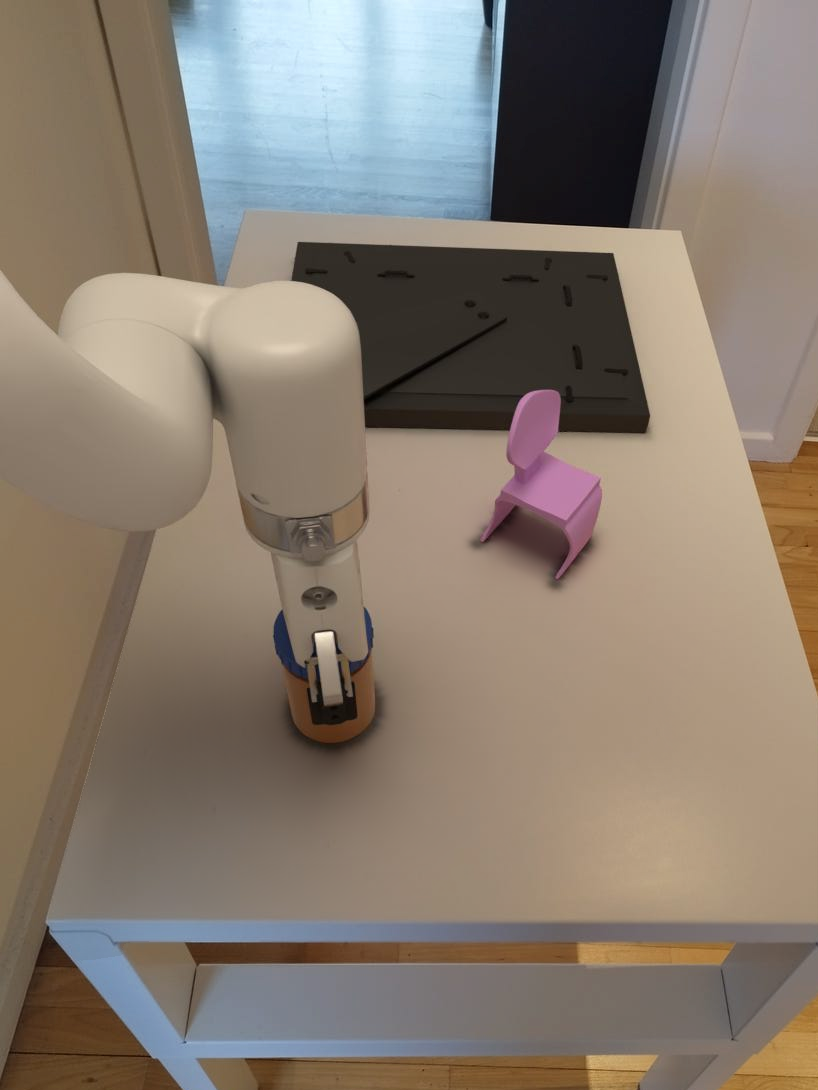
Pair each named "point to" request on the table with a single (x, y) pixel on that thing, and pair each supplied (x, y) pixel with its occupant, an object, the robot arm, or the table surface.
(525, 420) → the toy chair
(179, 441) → the robot arm
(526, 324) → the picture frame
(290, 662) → the jar lid
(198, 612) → the table surface
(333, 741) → the jar
